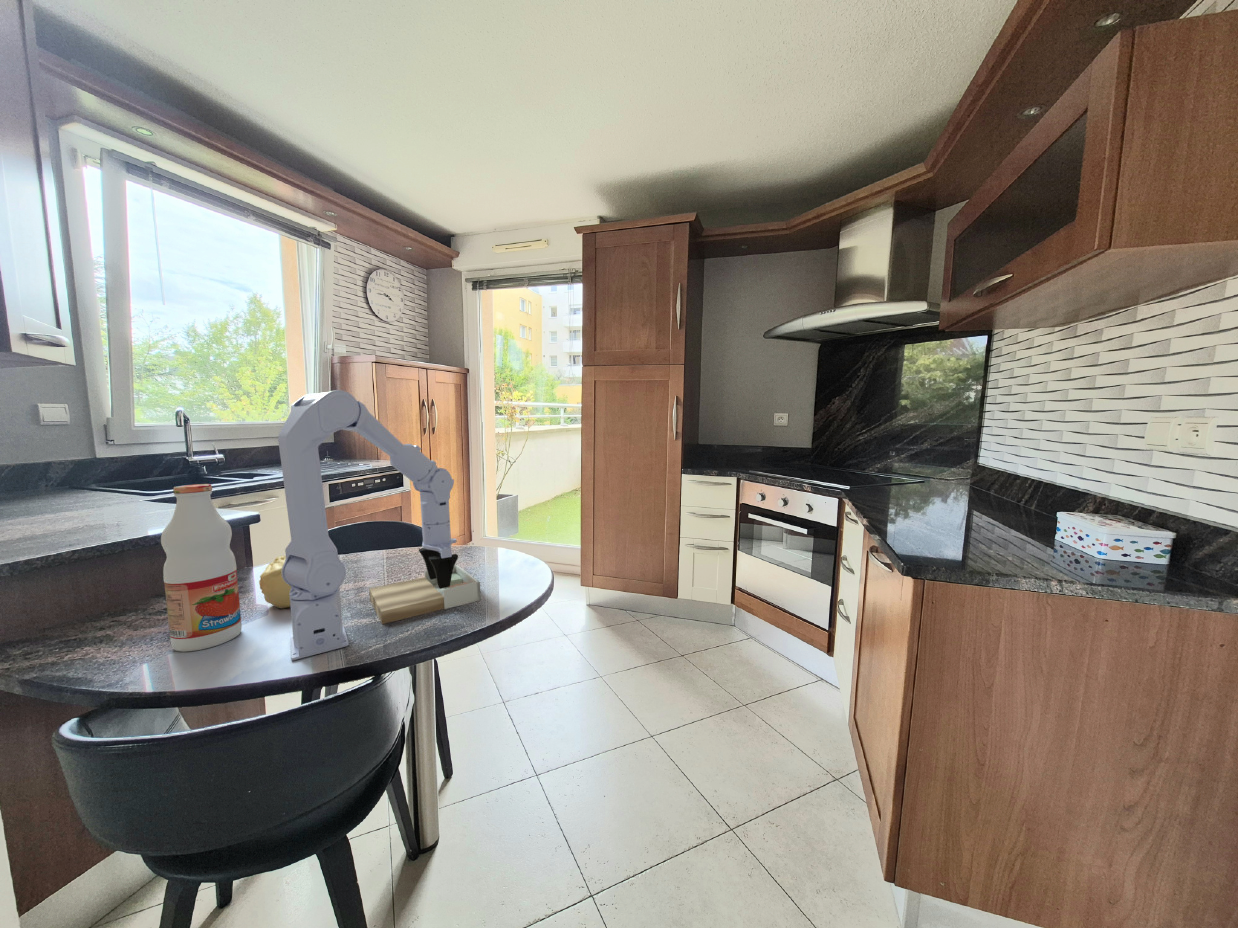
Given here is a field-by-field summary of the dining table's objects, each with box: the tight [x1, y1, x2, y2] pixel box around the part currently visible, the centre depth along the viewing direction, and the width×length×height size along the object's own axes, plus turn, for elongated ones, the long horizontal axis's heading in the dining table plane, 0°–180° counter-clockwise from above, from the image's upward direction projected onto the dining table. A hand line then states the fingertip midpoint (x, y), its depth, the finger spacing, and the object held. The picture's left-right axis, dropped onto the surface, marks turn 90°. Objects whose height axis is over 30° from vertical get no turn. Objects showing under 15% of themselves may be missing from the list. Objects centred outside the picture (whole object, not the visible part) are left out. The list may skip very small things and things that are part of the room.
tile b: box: [442, 573, 462, 589], centre depth 104 cm, size 5×4×2 cm
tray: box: [424, 563, 482, 610], centre depth 100 cm, size 16×8×4 cm, turn 36°
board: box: [368, 576, 445, 625], centre depth 95 cm, size 16×12×2 cm
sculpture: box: [258, 555, 291, 609], centre depth 97 cm, size 12×12×11 cm
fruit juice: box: [160, 483, 243, 653], centre depth 79 cm, size 9×9×28 cm
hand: (439, 582), depth 99 cm, fingers open, 7 cm apart
